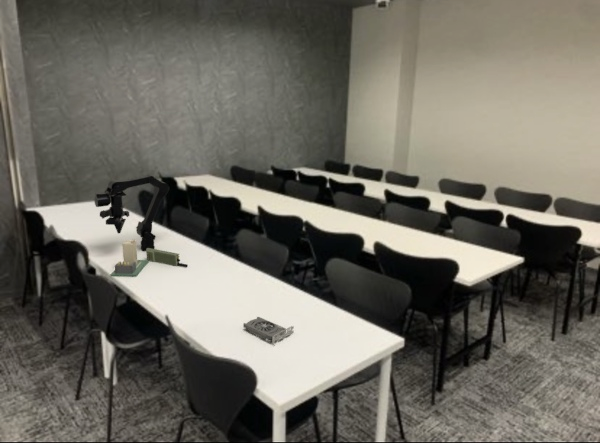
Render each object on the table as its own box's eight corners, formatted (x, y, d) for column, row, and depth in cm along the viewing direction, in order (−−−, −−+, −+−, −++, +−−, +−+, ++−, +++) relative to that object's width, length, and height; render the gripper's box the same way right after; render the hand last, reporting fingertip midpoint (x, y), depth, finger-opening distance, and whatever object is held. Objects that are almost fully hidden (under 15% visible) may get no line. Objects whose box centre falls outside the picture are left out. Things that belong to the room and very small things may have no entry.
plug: (127, 263, 230) (125, 238, 226) (137, 263, 230) (135, 238, 226) (124, 267, 225) (122, 241, 221) (134, 267, 225) (132, 242, 222)
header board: (125, 261, 236) (124, 249, 235) (148, 261, 237) (147, 250, 235) (110, 276, 217) (109, 263, 215) (136, 276, 217) (135, 263, 216)
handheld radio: (150, 259, 242) (189, 266, 232) (146, 261, 239) (185, 269, 229) (149, 247, 240) (188, 254, 230) (144, 249, 237) (184, 256, 227)
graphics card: (296, 326, 169) (273, 337, 160) (295, 335, 170) (273, 347, 161) (263, 312, 180) (240, 322, 171) (263, 321, 181) (240, 331, 172)
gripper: (107, 200, 248) (110, 227, 252) (94, 208, 230) (96, 238, 234) (128, 200, 248) (130, 228, 252) (116, 208, 230) (118, 238, 234)
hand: (119, 233), depth 243 cm, fingers closed
